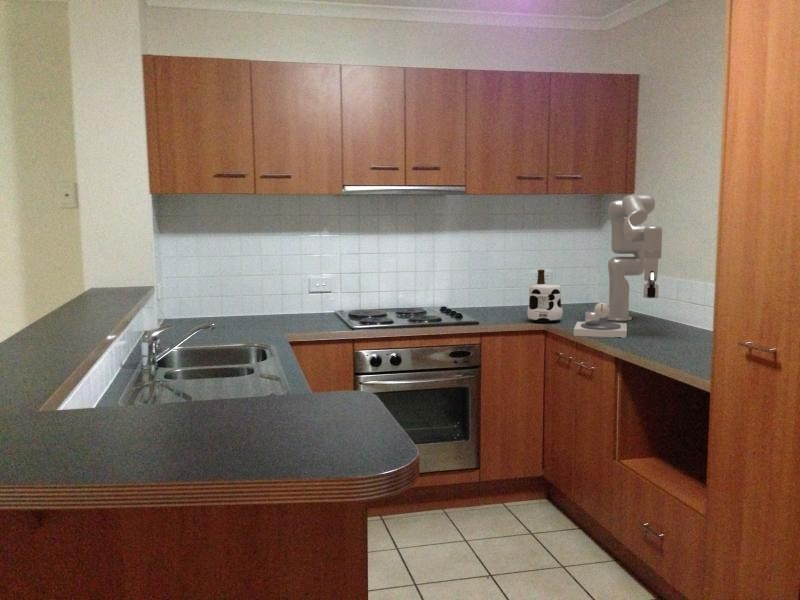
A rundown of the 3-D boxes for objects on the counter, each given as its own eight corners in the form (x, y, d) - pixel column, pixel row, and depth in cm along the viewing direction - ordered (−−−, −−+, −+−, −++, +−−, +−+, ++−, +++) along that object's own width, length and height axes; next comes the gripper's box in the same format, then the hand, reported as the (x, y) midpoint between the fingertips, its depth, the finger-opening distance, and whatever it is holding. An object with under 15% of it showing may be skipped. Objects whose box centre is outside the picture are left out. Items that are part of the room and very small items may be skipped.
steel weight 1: (585, 323, 308) (585, 311, 307) (599, 323, 306) (599, 311, 305) (585, 325, 302) (585, 313, 302) (599, 325, 300) (599, 313, 300)
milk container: (549, 318, 352) (550, 283, 349) (569, 322, 335) (570, 286, 333) (520, 320, 345) (520, 285, 343) (539, 325, 329) (539, 288, 327)
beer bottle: (548, 315, 361) (548, 270, 358) (533, 315, 363) (533, 270, 360) (548, 313, 369) (548, 269, 366) (533, 313, 370) (533, 269, 367)
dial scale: (577, 327, 319) (577, 301, 318) (626, 329, 312) (627, 302, 311) (573, 335, 298) (574, 307, 297) (626, 337, 291) (627, 309, 290)
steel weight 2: (643, 296, 300) (643, 283, 299) (657, 296, 298) (658, 284, 298) (643, 297, 294) (644, 285, 294) (658, 298, 293) (659, 285, 292)
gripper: (642, 253, 303) (640, 293, 306) (643, 256, 287) (642, 298, 289) (659, 253, 301) (658, 294, 303) (662, 256, 285) (661, 298, 287)
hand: (650, 295), depth 296 cm, fingers closed on steel weight 2, 6 cm apart
